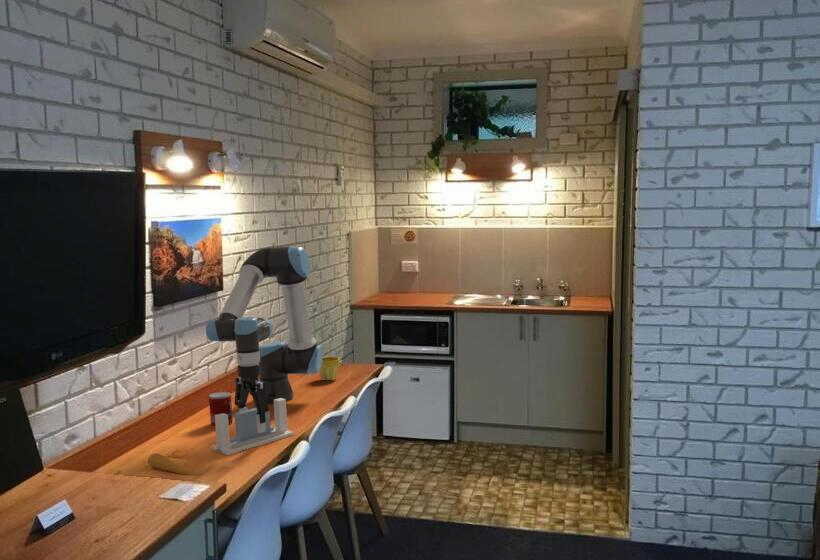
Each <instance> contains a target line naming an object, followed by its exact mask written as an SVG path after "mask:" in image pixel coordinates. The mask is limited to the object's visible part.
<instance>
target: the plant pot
mask: <svg viewBox="0 0 820 560" xmlns="http://www.w3.org/2000/svg"><path fill="white" fill-rule="evenodd" d="M340 365H341V358H340V357H338V356H323V360H322V365H321V368H320V370H319V371H318V372H319V374H320V378H321V380H322V379H323V380H333V379H336V378H338V372H339V367H340ZM336 380H337V379H336Z"/></svg>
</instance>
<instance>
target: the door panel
mask: <svg viewBox="0 0 820 560" xmlns="http://www.w3.org/2000/svg"><path fill="white" fill-rule="evenodd" d="M268 407H269V408H270V406H269V405H268ZM260 410H261V409H260ZM256 413H258V411H257V409H256V407H252V408H249V409H247V410H245V411H241V412H239V411H238V412H235V413H234V423H235V425H234V426H235V437H236V442H237V443H238V442H241V441H245V440H248V439H251V438H255V437H258V436H261V435H265V434H268V433H271V428H270V426H271V416H270V415H271V413H270V410H269V411H268V412H266V413H265V427H266V431H265V432H262V433H258V431H257V416H256Z"/></svg>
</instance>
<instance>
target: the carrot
mask: <svg viewBox="0 0 820 560" xmlns="http://www.w3.org/2000/svg"><path fill="white" fill-rule="evenodd" d="M147 464H148V465H149V466H150V467H151V468H153V469H156V470H161V471H164V470H165V472H169V471H170V472H171V473H174V472H175V474H180V475H187V476H192V475H196V473H193V472H192V471H190V470H189V469H187V468H186V467H184V466H182V465H180V464H178V463H176V462H175V461H173V460H171V459H169V458H167V457H165V456H164V455H162V454H160V453H158V452H157V453H151V454H150V456H149V457H148V459H147Z"/></svg>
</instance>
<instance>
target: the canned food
mask: <svg viewBox="0 0 820 560" xmlns="http://www.w3.org/2000/svg"><path fill="white" fill-rule="evenodd" d="M208 402H209V415H210V416H209V417H210V425H211V426H213V427H216V426H215V415H218V414H222V413H224V414H227V415H228V424H230V423H231V424H233V406H232V394H231V392H228V391H218V392H213V393H211V394H209V395H208ZM231 424H230V425H231Z"/></svg>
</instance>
